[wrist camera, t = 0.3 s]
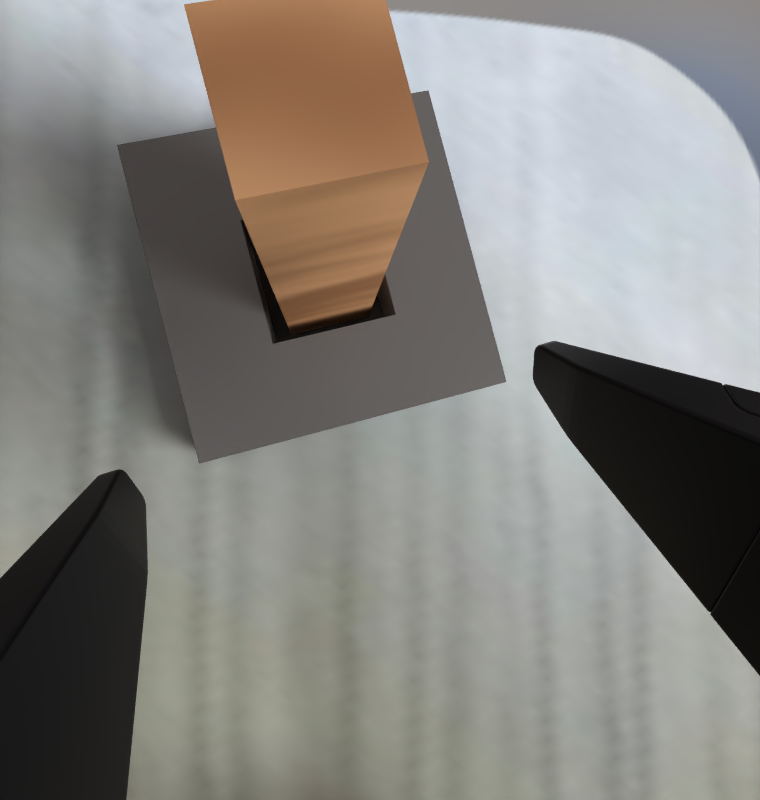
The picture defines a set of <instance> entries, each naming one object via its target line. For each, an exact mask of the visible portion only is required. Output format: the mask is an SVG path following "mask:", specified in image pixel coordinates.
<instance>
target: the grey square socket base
mask: <svg viewBox="0 0 760 800" xmlns="http://www.w3.org/2000/svg"><path fill="white" fill-rule="evenodd" d="M411 96H412V100H413V104H414V107H415V111H416V115H417V119H418V122H419V126H420V130H421V134H422V137H423V141H424V145H425V149H426V152H427V156H428V160H429V164H428V166H427V169H426V171H425V174H424V176H423V179H422V181H421V184H420V186H419V189H418V191H417V194H416V197H415V199H414V202H413V204H412V207H411V209H410V212H409V214H408V217H407V219H406V222H405V224H404V227H403V230H402V232H401V235H400V237H399V240H398V242H397V245H396V247H395V250H394V252H393V255H392V257H391V260H390V263H389V265H388V268H387V270H386V273H385V275H384V278H383V280H382V283H381V285H380V288H379V290H378V296H379V300H380V303H381V307H382V311H383V315H384V318H379V319H375V320H371V321H367V322H363V323H358V324H354V325H350V326H346V327H342V328H337V329H333V330H329V331H325V332H321V333H316V334H312V335H308V336H304V337H300V338H295V339H291V340H287V341H283V342H279V343H277V341H276V337H275V333H274V330H273V326H272V322H271V318H270V314H269V310H268V307H267V303H266V299H265V295H264V291H263V287H262V284H261V280H260V276H259V272H258V268H257V264H256V261H255V257H254V253H253V249H252V246H254V244H253V242H252V239H251V237H250V235H249V232H248V230H247V227H246V225H245V223H244V220H243V218H242V215H241V213H240V211H239V208H238V206H237V204H236V201H235V198H234V194H233V190H232V186H231V183H230V179H229V175H228V171H227V167H226V163H225V160H224V156H223V152H222V148H221V144H220V140H219V137H218V133H217V129H216V128H212V129H206V130H201V131H195V132H189V133H184V134H178V135H172V136H167V137H161V138H155V139H150V140H144V141H138V142H133V143H127V144H121V145H117V146H118V150H119V154H120V158H121V162H122V166H123V170H124V174H125V177H126V181H127V185H128V189H129V193H130V197H131V201H132V205H133V209H134V212H135V216H136V220H137V224H138V228H139V232H140V236H141V240H142V243H143V247H144V251H145V255H146V259H147V263H148V267H149V271H150V275H151V278H152V282H153V286H154V290H155V294H156V298H157V302H158V306H159V309H160V313H161V317H162V321H163V325H164V329H165V333H166V337H167V341H168V344H169V348H170V352H171V356H172V360H173V364H174V368H175V372H176V376H177V379H178V383H179V387H180V391H181V395H182V399H183V403H184V407H185V410H186V414H187V418H188V422H189V426H190V430H191V434H192V438H193V442H194V445H195V449H196V453H197V457H198V461H199V463H203V462H207V461H211V460H214V459H218V458H222V457H226V456H230V455H233V454H237V453H241V452H245V451H248V450H252V449H256V448H260V447H263V446H267V445H271V444H275V443H278V442H282V441H286V440H290V439H293V438H297V437H301V436H305V435H308V434H312V433H316V432H320V431H323V430H327V429H331V428H335V427H338V426H342V425H346V424H350V423H353V422H357V421H361V420H365V419H368V418H372V417H376V416H380V415H383V414H387V413H391V412H395V411H398V410H402V409H406V408H410V407H414V406H417V405H421V404H425V403H429V402H432V401H436V400H440V399H444V398H447V397H451V396H455V395H459V394H462V393H466V392H470V391H474V390H477V389H481V388H485V387H489V386H492V385H496V384H500V383H504V382H506V379H505V375H504V371H503V367H502V364H501V360H500V356H499V352H498V349H497V345H496V341H495V338H494V334H493V330H492V326H491V323H490V319H489V315H488V311H487V308H486V304H485V300H484V296H483V293H482V289H481V285H480V282H479V278H478V274H477V270H476V267H475V263H474V259H473V255H472V252H471V248H470V244H469V240H468V237H467V233H466V229H465V226H464V222H463V218H462V214H461V211H460V207H459V203H458V199H457V196H456V192H455V188H454V184H453V181H452V177H451V173H450V170H449V166H448V162H447V158H446V155H445V151H444V147H443V143H442V140H441V136H440V132H439V128H438V125H437V121H436V117H435V114H434V110H433V106H432V102H431V99H430V95H429V91H423V92H417V93H411Z"/></svg>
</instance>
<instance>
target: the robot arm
mask: <svg viewBox="0 0 760 800" xmlns="http://www.w3.org/2000/svg"><path fill="white" fill-rule="evenodd" d="M533 381H534V384H535V386H536V388H537V389H538V391H539V393H540V394H541V396H542V397H543V399H544V400H545V402H546V404H547V405H548V407H549V408H550V410H551V412H552V413H553V415H554V416H555V418H556V419H557V421H558V423H559V424H560V426H561V427H562V429H563V430H564V432H565V433H566V435H567V436H568V438H569V439H570V440H571V442H572V443H573V444H574V445H575V447H576V448H577V449H578V450H579V452H580V453H581V454H582V455H583V457H584V458H585V459H586V460H587V462H588V463H589V464H590V465H591V467H592V468H593V469H594V470H595V471H596V473H597V474H598V475H599V476H600V478H601V479H602V480H603V481H604V483H605V484H606V485H607V486H608V488H609V489H610V490H611V491H612V493H613V494H614V495H615V496H616V498H617V499H618V500H619V501H620V503H621V504H622V505H623V506H624V507H625V509H626V510H627V511H628V512H629V514H630V515H631V516H632V517H633V519H634V520H635V521H636V522H637V524H638V525H639V526H640V527H641V529H642V530H643V531H644V532H645V534H646V535H647V536H648V537H649V539H650V540H651V541H652V542H653V543H654V545H655V546H656V547H657V548H658V550H659V551H660V552H661V553H662V555H663V556H664V557H665V558H666V560H667V561H668V562H669V563H670V565H671V566H672V567H673V568H674V570H675V571H676V572H677V573H678V575H679V576H680V577H681V578H682V579H683V581H684V582H685V583H686V584H687V586H688V587H689V588H690V589H691V591H692V592H693V593H694V594H695V596H696V597H697V598H698V599H699V601H700V602H701V603H702V604H703V606H704V607H705V608H706V609H707V611H709V612H711V613H710V614H711V616H712V617H713V618H714V620H715V621H716V622H717V623H718V625H719V626H720V627H721V628H722V630H723V631H724V632H725V633H726V635H727V636H728V637H729V638H730V640H731V641H732V642H733V643H734V644H735V646H736V647H737V648H738V649H739V651H740V652H741V653H742V654H743V656H744V657H745V658H746V659H747V661H748V662H749V663H750V664H751V666H752V667H753V668H754V669H755V671H756V672H757V673H758V674H759V675H760V393H759V392H755V391H751V390H747V389H743V388H739V387H735V386H731V385H727V384H725V385H722V384H721V383H719V382H715V381H711V380H707V379H703V378H699V377H695V376H691V375H687V374H683V373H679V372H675V371H671V370H667V369H663V368H659V367H655V366H652V365H648V364H644V363H640V362H636V361H632V360H628V359H624V358H620V357H616V356H612V355H608V354H604V353H600V352H596V351H592V350H588V349H584V348H580V347H576V346H572V345H568V344H565V343H561V342H557V341H551V342H548V343H545V344H541V345H538V346H537V347H536V349H535V352H534V366H533ZM147 575H148V558H147V526H146V504H145V500H144V497H143V496H142V494H141V493H140V491H139V490H138V488H137V487H136V486H135V484H134V483H133V481H132V480H131V479H130V477H129V476H128V475H127V473H126V472H125V471H123V470H119V469H118V470H114V471H111V472H108V473H104V474H101V475H99V476H98V477H97V478H96V479H95V480H94V481H93V482H92V483H91V484H90V485H89V486H88V487H87V488H86V489H85V490H84V491H83V492H82V493H81V494H80V496H79V497H78V498H77V499H76V500H75V501H74V502H73V503H72V504H71V505H70V506H69V507H68V508H67V509H66V510H65V511H64V512H63V513H62V514H61V515H60V516H59V517H58V519H57V520H56V521H55V522H54V523H53V524H52V525H51V526H50V527H49V528H48V529H47V530H46V531H45V532H44V533H43V534H42V535H41V536H40V537H39V538H38V539H37V540H36V542H35V543H34V544H33V545H32V546H31V547H30V548H29V549H28V550H27V551H26V552H25V553H24V554H23V555H22V556H21V557H20V558H19V559H18V560H17V561H16V562H15V563H14V564H13V566H12V567H11V568H10V569H9V570H8V571H7V572H6V573H5V574H4V575H3V576H2V577H1V578H0V800H126V797H127V787H128V776H129V766H130V755H131V745H132V735H133V724H134V714H135V703H136V693H137V682H138V672H139V662H140V651H141V641H142V630H143V620H144V609H145V599H146V589H147Z"/></svg>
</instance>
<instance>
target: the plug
mask: <svg viewBox="0 0 760 800" xmlns="http://www.w3.org/2000/svg"><path fill="white" fill-rule="evenodd" d="M184 6H185V10H186V14H187V18H188V22H189V25H190V29H191V33H192V37H193V41H194V45H195V48H196V52H197V56H198V60H199V64H200V68H201V71H202V75H203V79H204V83H205V87H206V91H207V94H208V98H209V102H210V106H211V110H212V114H213V117H214V121H215V125H216V129H217V133H218V137H219V140H220V144H221V148H222V152H223V156H224V160H225V163H226V167H227V171H228V175H229V179H230V183H231V186H232V190H233V194H234V198H235V201H236V204H237V206H238V208H239V211H240V213H241V215H242V218H243V220H244V223H245V225H246V227H247V230H248V232H249V235H250V237H251V239H252V242H253V244H254V246H255V249H256V251H257V254H258V256H259V258H260V261H261V263H262V266H263V268H264V270H265V273H266V275H267V277H268V280H269V282H270V285H271V287H272V289H273V292H274V294H275V297H276V299H277V301H278V304H279V306H280V308H281V311H282V313H283V316H284V318H285V320H286V323H287V325H288V328H289V330H290V332H291V335H294V334H298V333H302V332H306V331H310V330H315V329H319V328H323V327H327V326H331V325H336V324H340V323H344V322H348V321H353V320H357V319H361V318H365V317H368V316H369V313H370V311H371V308H372V306H373V303H374V301H375V298H376V296H377V293H378V290H379V288H380V285H381V283H382V280H383V278H384V275H385V273H386V270H387V268H388V265H389V263H390V260H391V257H392V255H393V252H394V250H395V247H396V245H397V242H398V240H399V237H400V235H401V232H402V230H403V227H404V224H405V222H406V219H407V217H408V214H409V212H410V209H411V207H412V204H413V202H414V199H415V197H416V194H417V191H418V189H419V186H420V184H421V181H422V179H423V176H424V174H425V171H426V169H427V166H428V164H429V160H428V156H427V152H426V149H425V145H424V141H423V137H422V134H421V130H420V126H419V122H418V119H417V115H416V111H415V107H414V104H413V100H412V96H411V92H410V89H409V85H408V81H407V77H406V74H405V70H404V66H403V62H402V59H401V55H400V51H399V48H398V44H397V40H396V36H395V33H394V29H393V25H392V21H391V18H390V14H389V10H388V6H387V3H386V0H212V1H205V2H198V3H191V4H184Z"/></svg>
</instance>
